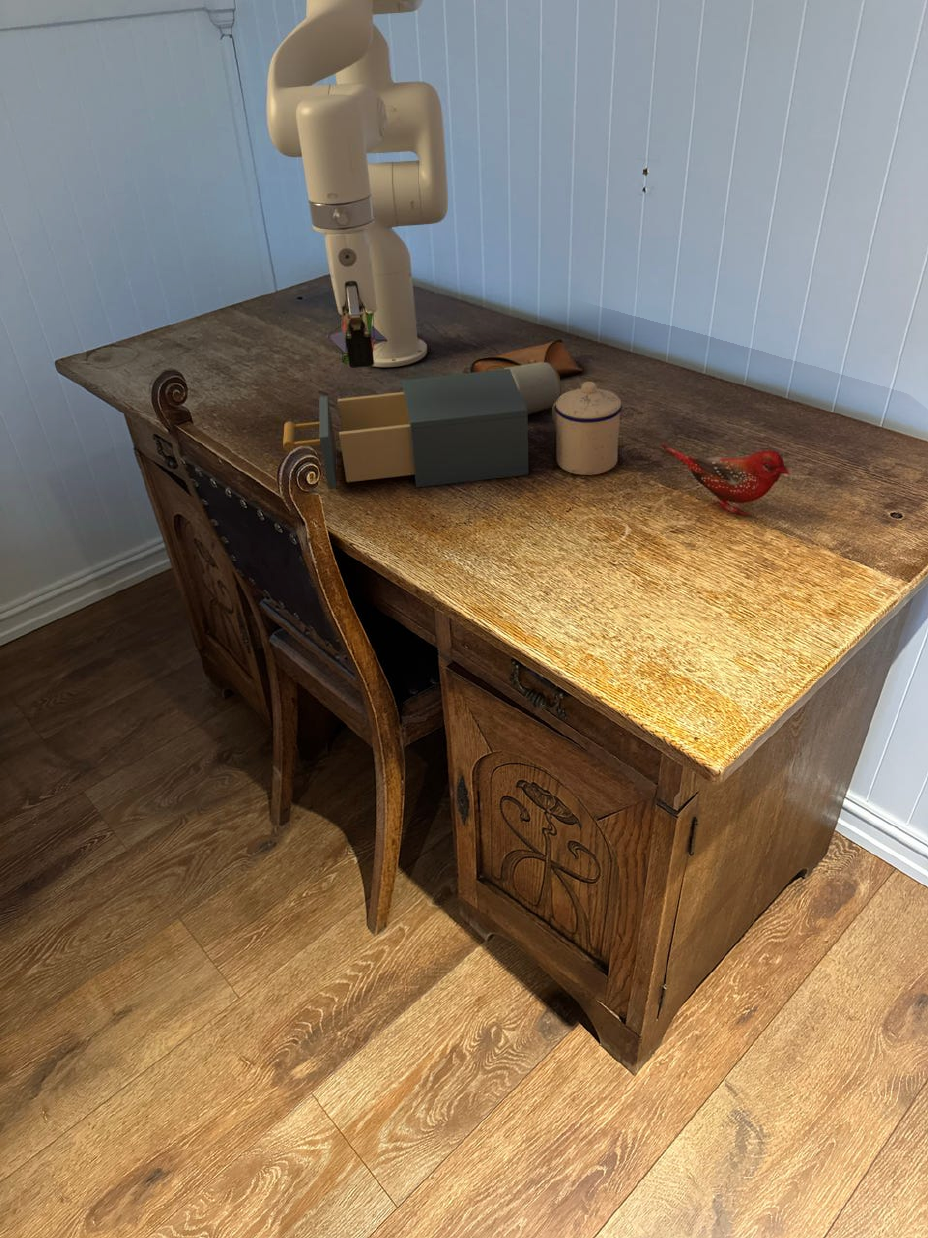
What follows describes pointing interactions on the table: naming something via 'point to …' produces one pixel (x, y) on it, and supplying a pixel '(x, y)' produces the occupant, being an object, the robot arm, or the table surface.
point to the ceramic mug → (537, 385)
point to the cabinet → (467, 427)
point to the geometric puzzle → (375, 334)
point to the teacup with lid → (587, 430)
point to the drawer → (362, 437)
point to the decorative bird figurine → (735, 475)
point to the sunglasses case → (531, 359)
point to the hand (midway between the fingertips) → (360, 353)
